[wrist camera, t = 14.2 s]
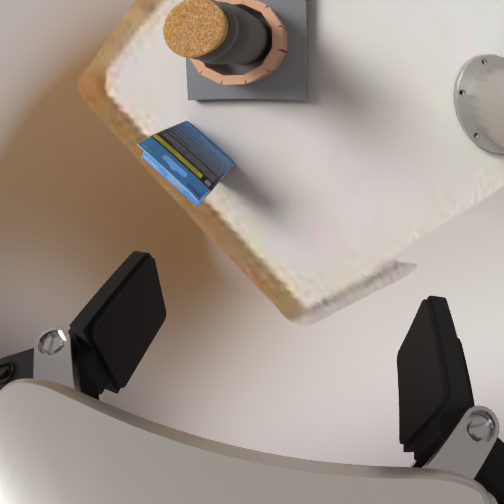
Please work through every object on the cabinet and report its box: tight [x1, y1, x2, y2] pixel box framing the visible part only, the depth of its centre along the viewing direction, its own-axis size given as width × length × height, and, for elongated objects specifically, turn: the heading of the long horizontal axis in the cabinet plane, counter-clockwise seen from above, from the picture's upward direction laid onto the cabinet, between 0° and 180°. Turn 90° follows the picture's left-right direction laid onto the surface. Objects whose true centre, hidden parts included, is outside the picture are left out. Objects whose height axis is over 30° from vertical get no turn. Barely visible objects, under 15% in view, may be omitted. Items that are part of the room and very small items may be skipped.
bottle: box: [163, 0, 272, 64], centre depth 23 cm, size 6×6×15 cm
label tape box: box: [137, 121, 235, 206], centre depth 35 cm, size 9×4×12 cm, turn 49°
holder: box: [184, 0, 307, 101], centre depth 28 cm, size 14×14×6 cm
